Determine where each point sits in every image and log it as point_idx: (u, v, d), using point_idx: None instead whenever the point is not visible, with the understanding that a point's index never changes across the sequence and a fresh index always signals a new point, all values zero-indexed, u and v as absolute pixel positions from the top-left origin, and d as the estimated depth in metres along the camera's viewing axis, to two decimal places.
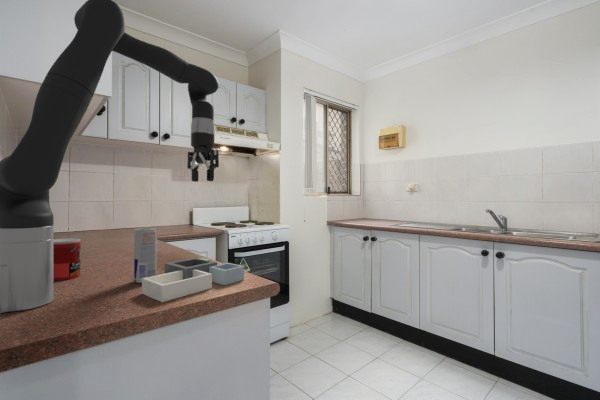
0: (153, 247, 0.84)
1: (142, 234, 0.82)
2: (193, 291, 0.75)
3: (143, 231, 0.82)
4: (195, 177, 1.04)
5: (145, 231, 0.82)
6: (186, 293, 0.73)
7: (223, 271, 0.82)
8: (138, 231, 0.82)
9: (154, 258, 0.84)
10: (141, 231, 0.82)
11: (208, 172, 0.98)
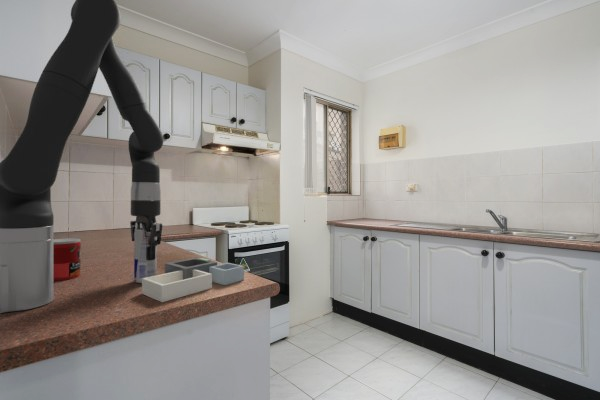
0: None
1: (142, 234, 0.82)
2: (193, 291, 0.75)
3: None
4: None
5: None
6: (186, 293, 0.73)
7: (223, 271, 0.82)
8: (138, 231, 0.82)
9: None
10: (141, 231, 0.82)
11: (148, 250, 0.82)
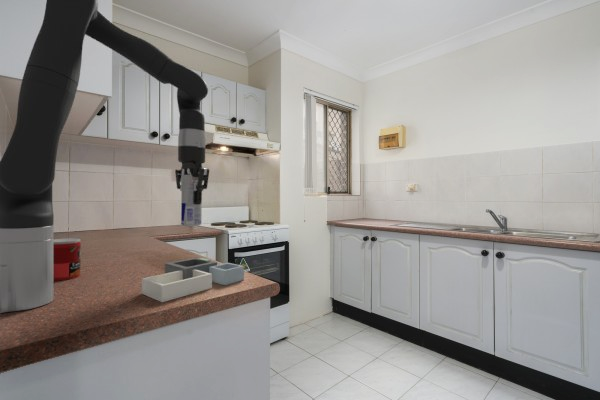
0: None
1: (190, 179, 0.86)
2: (193, 291, 0.75)
3: None
4: None
5: None
6: (186, 293, 0.73)
7: (223, 271, 0.82)
8: (186, 176, 0.86)
9: None
10: (189, 176, 0.86)
11: (195, 194, 0.86)
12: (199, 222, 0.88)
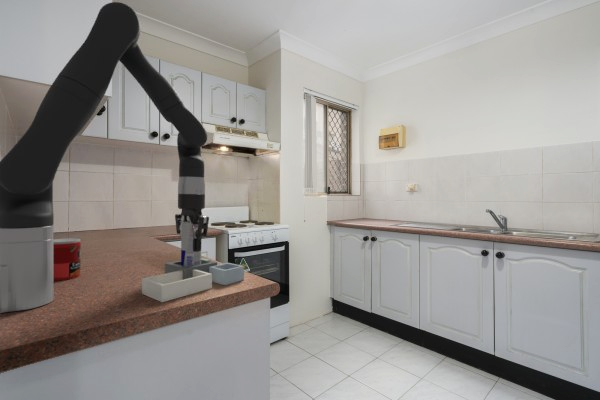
0: None
1: (189, 226, 0.86)
2: (193, 291, 0.75)
3: None
4: None
5: None
6: (186, 293, 0.73)
7: (223, 271, 0.82)
8: (186, 223, 0.86)
9: None
10: (189, 223, 0.86)
11: (195, 242, 0.86)
12: None
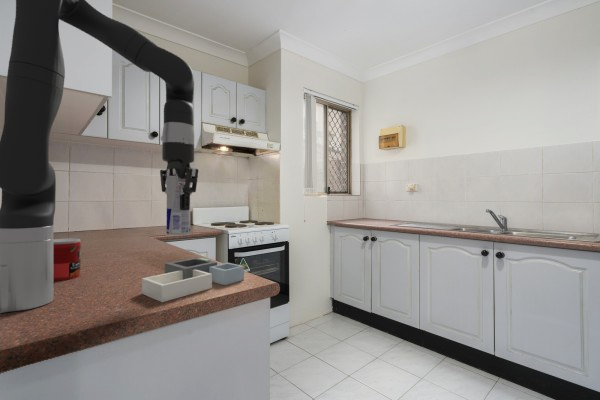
0: None
1: (176, 180, 0.74)
2: (193, 291, 0.75)
3: None
4: None
5: None
6: (186, 293, 0.73)
7: (223, 271, 0.82)
8: (172, 177, 0.74)
9: None
10: (175, 177, 0.74)
11: (182, 199, 0.74)
12: (187, 231, 0.76)
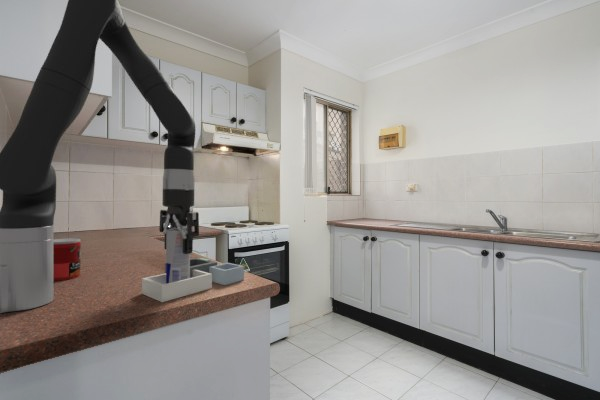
0: None
1: (175, 236, 0.74)
2: (193, 291, 0.75)
3: (176, 232, 0.74)
4: None
5: (179, 232, 0.74)
6: (186, 293, 0.73)
7: (223, 271, 0.82)
8: (171, 232, 0.74)
9: (188, 262, 0.76)
10: (174, 232, 0.74)
11: (185, 243, 0.73)
12: None
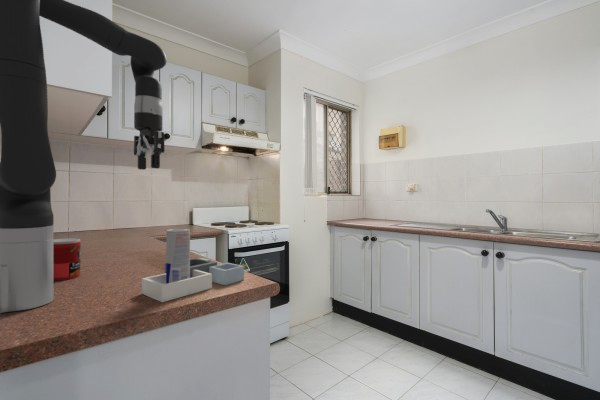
0: (187, 250, 0.76)
1: (175, 236, 0.74)
2: (193, 291, 0.75)
3: (176, 232, 0.74)
4: (142, 164, 0.92)
5: (179, 232, 0.74)
6: (186, 293, 0.73)
7: (223, 271, 0.82)
8: (171, 232, 0.74)
9: (188, 262, 0.76)
10: (174, 232, 0.74)
11: (152, 158, 0.86)
12: None
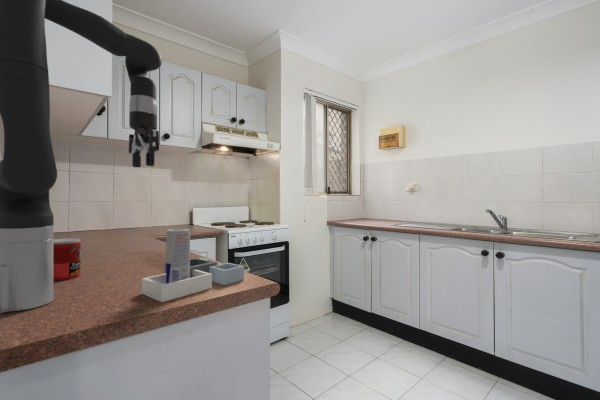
0: (187, 250, 0.76)
1: (175, 236, 0.74)
2: (193, 291, 0.75)
3: (176, 232, 0.74)
4: (136, 162, 0.94)
5: (179, 232, 0.74)
6: (186, 293, 0.73)
7: (223, 271, 0.82)
8: (171, 232, 0.74)
9: (188, 262, 0.76)
10: (174, 232, 0.74)
11: (147, 156, 0.88)
12: None
